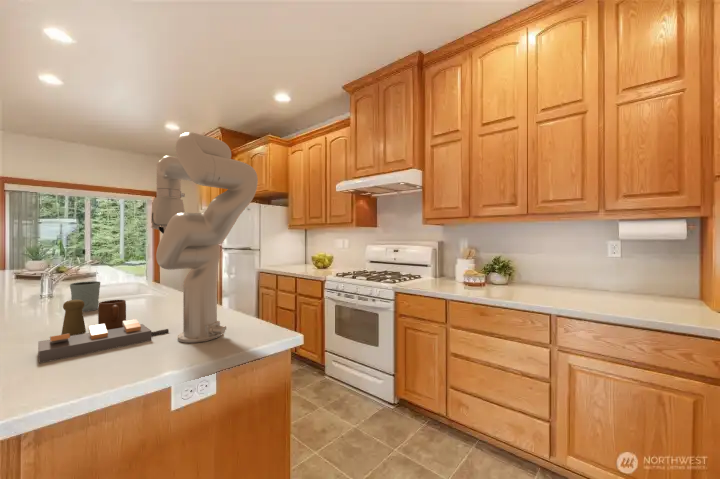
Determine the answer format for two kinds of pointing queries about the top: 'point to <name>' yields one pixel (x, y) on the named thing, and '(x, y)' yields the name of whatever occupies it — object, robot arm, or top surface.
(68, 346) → the power strip
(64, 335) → the rocker
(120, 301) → the mug
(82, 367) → the top surface
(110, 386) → the top surface
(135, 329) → the block
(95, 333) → the middle rocker
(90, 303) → the grey cup
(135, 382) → the top surface
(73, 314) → the pepper mill
